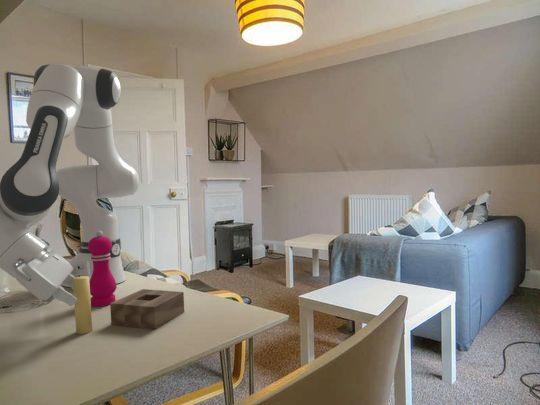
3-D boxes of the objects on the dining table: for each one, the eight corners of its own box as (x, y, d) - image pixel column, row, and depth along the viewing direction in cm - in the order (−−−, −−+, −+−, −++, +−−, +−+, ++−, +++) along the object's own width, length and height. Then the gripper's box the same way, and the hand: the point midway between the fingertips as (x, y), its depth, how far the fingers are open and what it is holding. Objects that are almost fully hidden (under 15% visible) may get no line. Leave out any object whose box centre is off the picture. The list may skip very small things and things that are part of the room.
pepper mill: (88, 301, 108) (84, 230, 107) (115, 297, 112) (112, 228, 111) (89, 309, 102) (85, 233, 101) (118, 304, 105) (114, 230, 104)
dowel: (72, 333, 85) (69, 279, 85) (84, 328, 88) (81, 275, 88) (84, 335, 84) (81, 280, 84) (95, 329, 87) (92, 276, 87)
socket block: (111, 324, 90) (110, 303, 90) (143, 308, 101) (143, 289, 101) (155, 329, 86) (154, 307, 86) (184, 311, 97) (183, 292, 97)
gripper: (21, 253, 73) (82, 298, 76) (47, 238, 92) (94, 275, 96) (-5, 279, 72) (58, 323, 75) (27, 259, 91) (75, 295, 94)
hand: (78, 296), depth 86 cm, fingers open, 8 cm apart
